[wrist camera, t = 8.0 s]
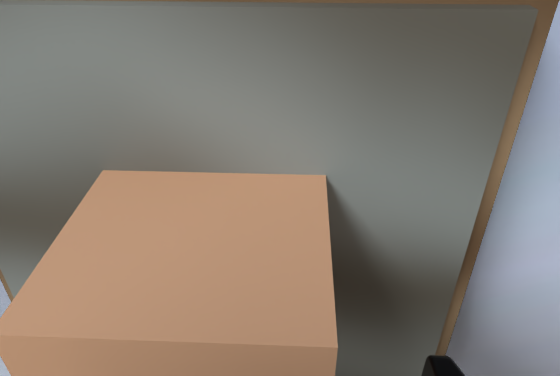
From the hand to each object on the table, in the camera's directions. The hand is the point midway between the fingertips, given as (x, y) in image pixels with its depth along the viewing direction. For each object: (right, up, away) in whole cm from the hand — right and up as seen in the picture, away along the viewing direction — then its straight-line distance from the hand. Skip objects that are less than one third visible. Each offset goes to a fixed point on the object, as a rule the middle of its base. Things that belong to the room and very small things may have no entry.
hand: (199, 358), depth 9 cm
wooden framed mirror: (0, +3, +5) cm, 6 cm away
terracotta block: (0, +2, +2) cm, 3 cm away
